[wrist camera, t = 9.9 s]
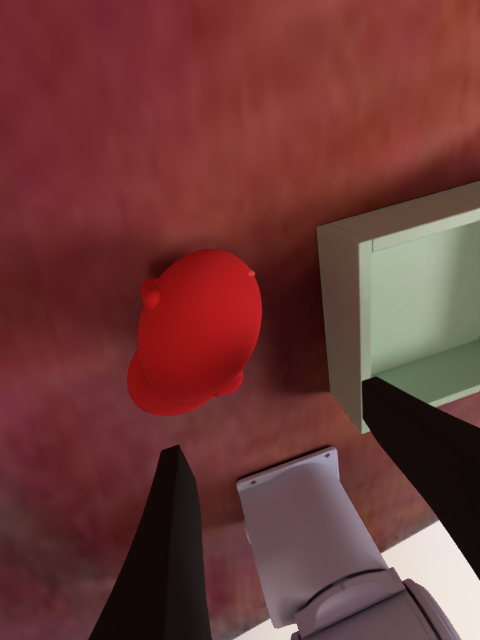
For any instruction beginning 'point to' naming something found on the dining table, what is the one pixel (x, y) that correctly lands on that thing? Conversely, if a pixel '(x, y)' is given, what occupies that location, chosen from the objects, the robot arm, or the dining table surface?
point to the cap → (194, 332)
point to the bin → (404, 299)
